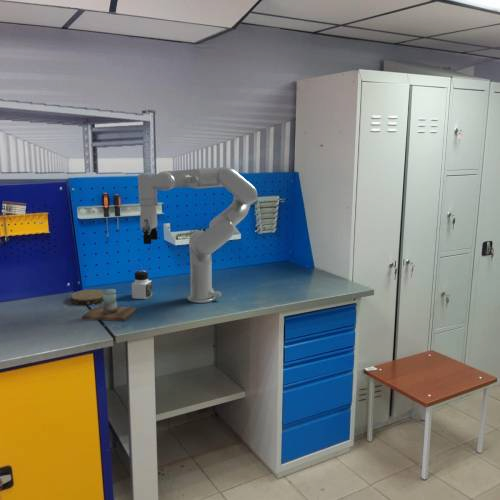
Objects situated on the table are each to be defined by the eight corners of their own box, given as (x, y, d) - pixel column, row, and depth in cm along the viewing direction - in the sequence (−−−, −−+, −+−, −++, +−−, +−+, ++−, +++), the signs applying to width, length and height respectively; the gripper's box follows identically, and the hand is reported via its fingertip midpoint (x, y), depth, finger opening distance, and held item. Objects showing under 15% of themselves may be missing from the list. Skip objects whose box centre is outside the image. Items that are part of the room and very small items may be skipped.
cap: (101, 304, 210) (100, 292, 209) (105, 300, 215) (104, 288, 214) (114, 304, 210) (114, 292, 209) (118, 300, 215) (117, 288, 214)
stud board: (136, 309, 219) (136, 298, 218) (125, 321, 206) (124, 308, 205) (96, 308, 221) (95, 296, 220) (82, 319, 208) (81, 306, 207)
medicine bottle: (146, 299, 234) (145, 274, 232) (131, 298, 236) (130, 273, 233) (152, 295, 241) (151, 270, 239) (138, 294, 242) (137, 269, 240)
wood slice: (70, 297, 238) (70, 291, 237) (106, 294, 243) (106, 288, 242) (71, 307, 223) (70, 301, 223) (109, 304, 228) (108, 297, 228)
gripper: (145, 200, 229) (148, 237, 232) (133, 205, 212) (136, 245, 215) (162, 200, 228) (164, 237, 231) (151, 204, 211) (153, 245, 215)
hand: (150, 241), depth 223 cm, fingers open, 9 cm apart
